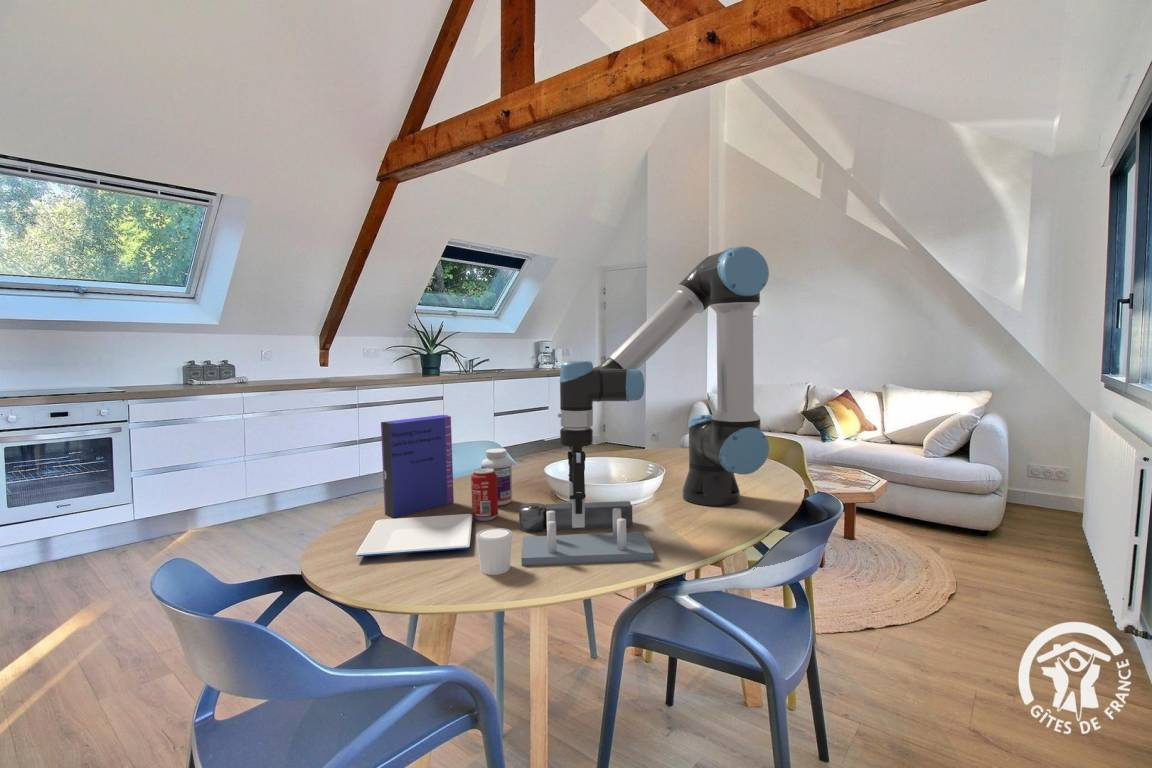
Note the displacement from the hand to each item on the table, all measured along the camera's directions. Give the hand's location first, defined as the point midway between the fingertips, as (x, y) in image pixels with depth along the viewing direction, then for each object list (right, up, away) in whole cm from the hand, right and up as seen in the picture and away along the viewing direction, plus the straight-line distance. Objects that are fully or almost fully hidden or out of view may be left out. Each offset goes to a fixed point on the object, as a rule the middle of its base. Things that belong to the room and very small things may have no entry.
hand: (576, 517), depth 131 cm
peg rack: (+2, -3, -16) cm, 16 cm away
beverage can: (-23, -2, +8) cm, 24 cm away
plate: (-35, -4, -7) cm, 36 cm away
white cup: (-16, -4, -24) cm, 29 cm away
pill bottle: (-21, -1, +21) cm, 30 cm away
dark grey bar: (0, -2, 0) cm, 2 cm away
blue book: (-41, -2, +17) cm, 45 cm away
